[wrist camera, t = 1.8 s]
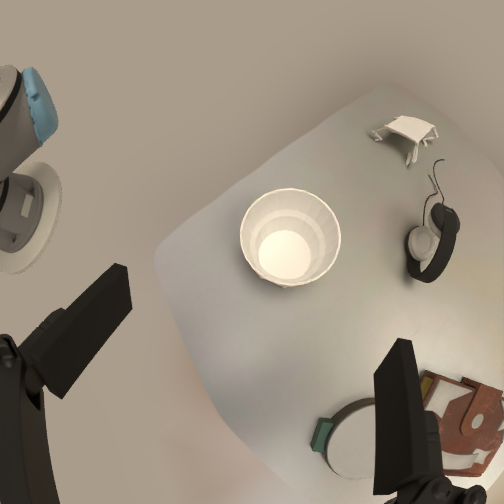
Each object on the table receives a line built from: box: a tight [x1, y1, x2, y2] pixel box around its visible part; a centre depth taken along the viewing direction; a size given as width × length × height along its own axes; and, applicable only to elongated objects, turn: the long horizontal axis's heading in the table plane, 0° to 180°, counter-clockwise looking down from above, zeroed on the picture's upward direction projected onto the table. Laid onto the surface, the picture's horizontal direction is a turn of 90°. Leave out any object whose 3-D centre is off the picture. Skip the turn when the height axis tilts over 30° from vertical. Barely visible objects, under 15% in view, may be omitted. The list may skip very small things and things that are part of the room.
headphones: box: [406, 159, 460, 283], centre depth 35 cm, size 10×4×20 cm
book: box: [420, 370, 504, 477], centre depth 28 cm, size 23×16×5 cm
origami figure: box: [372, 115, 438, 165], centre depth 40 cm, size 12×8×5 cm
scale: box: [311, 398, 375, 480], centre depth 30 cm, size 13×12×3 cm
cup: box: [240, 188, 341, 289], centre depth 34 cm, size 10×10×10 cm
